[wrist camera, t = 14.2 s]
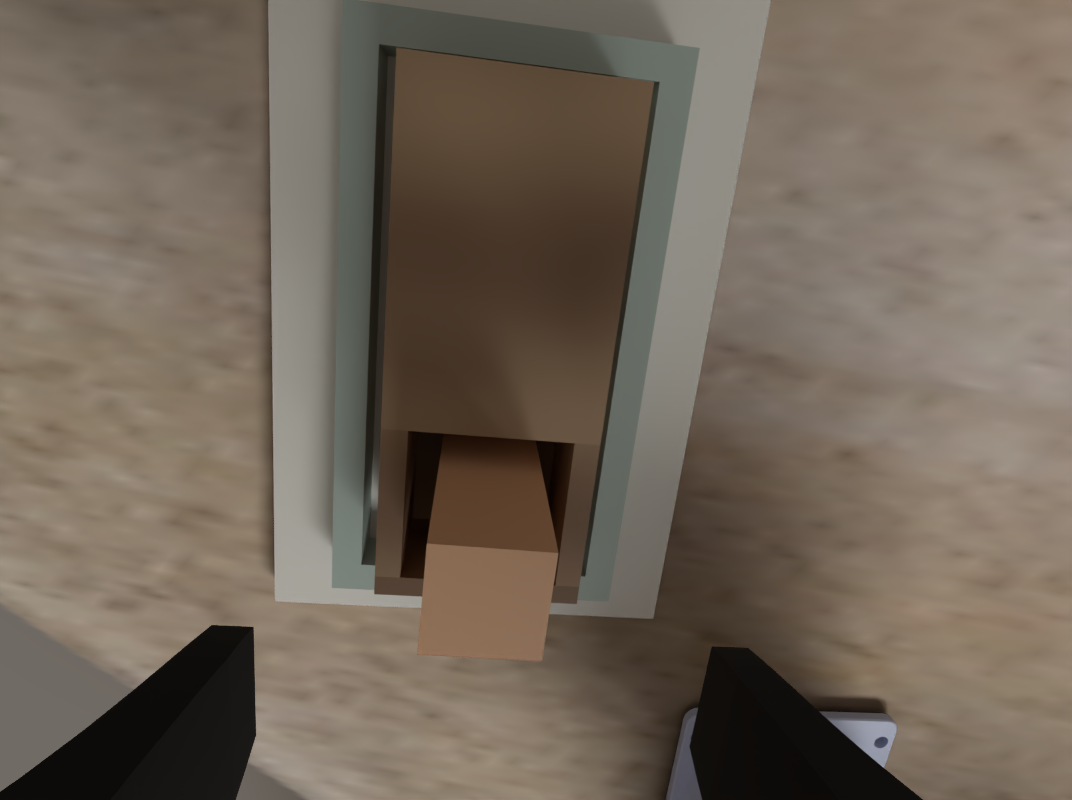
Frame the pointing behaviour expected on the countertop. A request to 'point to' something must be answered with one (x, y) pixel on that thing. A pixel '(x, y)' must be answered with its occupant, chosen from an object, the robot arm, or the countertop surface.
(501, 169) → the tan box sleeve
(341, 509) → the cradle
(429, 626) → the tan square block
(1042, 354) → the countertop surface
